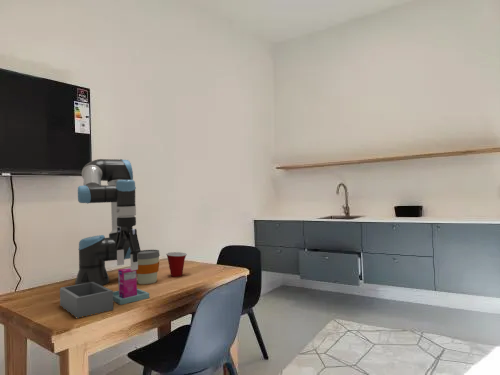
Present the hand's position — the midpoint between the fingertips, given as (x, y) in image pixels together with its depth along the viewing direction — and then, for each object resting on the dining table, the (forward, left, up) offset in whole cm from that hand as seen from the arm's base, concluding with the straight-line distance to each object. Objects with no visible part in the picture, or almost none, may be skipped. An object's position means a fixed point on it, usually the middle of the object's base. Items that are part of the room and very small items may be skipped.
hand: (127, 267), depth 141 cm
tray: (0, 0, -13) cm, 13 cm away
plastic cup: (-20, +35, -13) cm, 42 cm away
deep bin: (0, -17, -13) cm, 21 cm away
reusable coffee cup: (-20, +18, -13) cm, 30 cm away
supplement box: (0, 0, -12) cm, 12 cm away
